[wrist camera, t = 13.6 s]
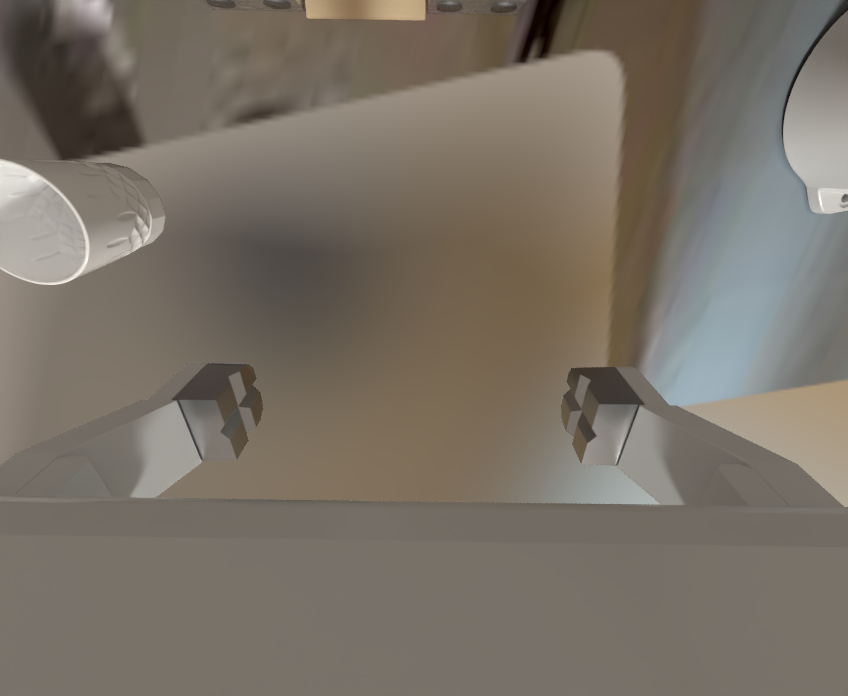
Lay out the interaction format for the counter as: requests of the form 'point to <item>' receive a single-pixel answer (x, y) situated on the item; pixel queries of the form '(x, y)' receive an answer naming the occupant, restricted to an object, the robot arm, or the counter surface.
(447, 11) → the chain end
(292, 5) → the chain end
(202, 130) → the counter surface
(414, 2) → the pad
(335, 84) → the counter surface
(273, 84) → the counter surface
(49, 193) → the white cup
